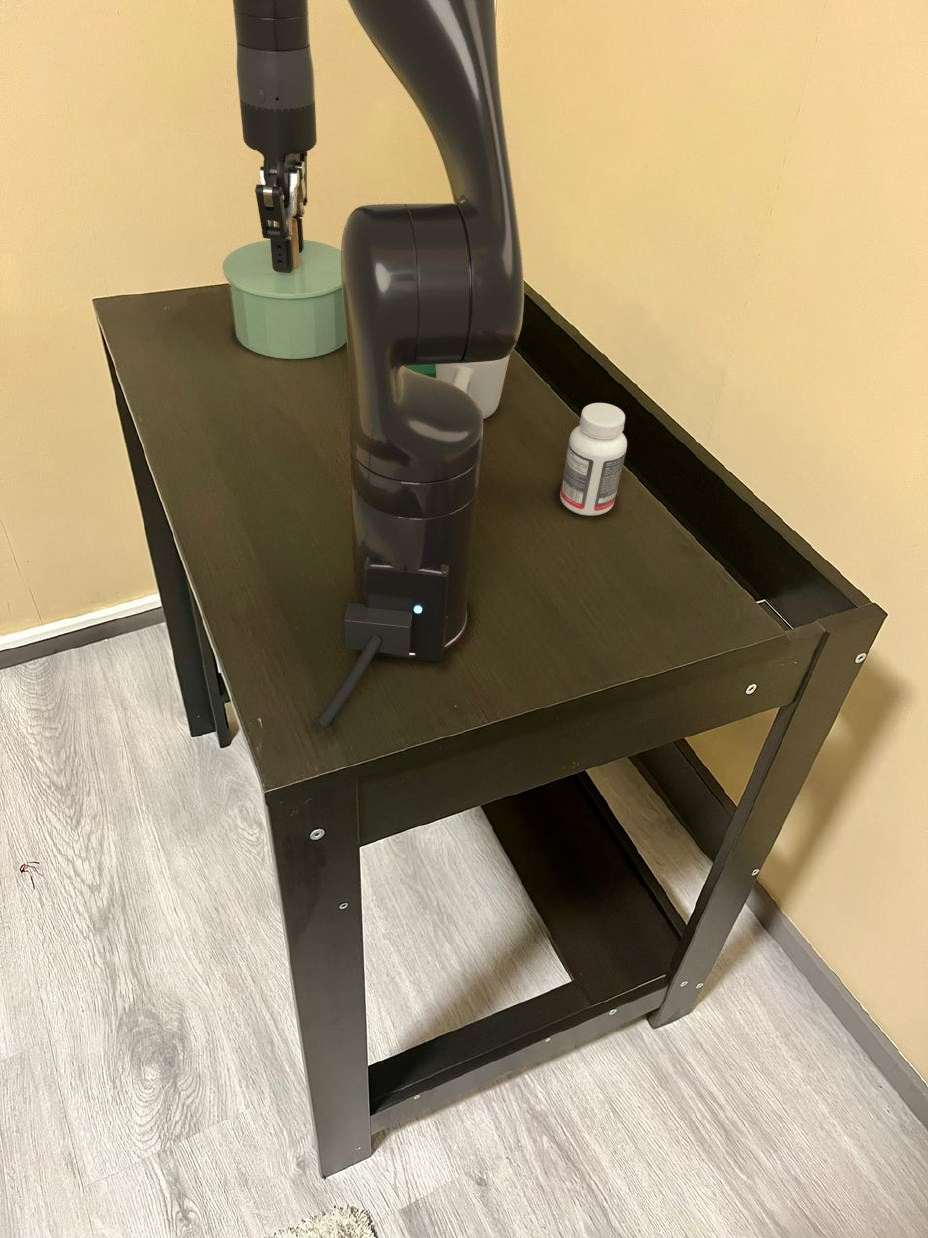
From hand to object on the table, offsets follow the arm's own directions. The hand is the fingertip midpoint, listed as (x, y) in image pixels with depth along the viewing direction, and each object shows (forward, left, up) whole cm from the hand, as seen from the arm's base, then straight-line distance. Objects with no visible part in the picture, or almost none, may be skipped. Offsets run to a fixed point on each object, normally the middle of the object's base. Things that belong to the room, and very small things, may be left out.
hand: (288, 259), depth 103 cm
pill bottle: (-28, -35, -9) cm, 46 cm away
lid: (0, 0, -1) cm, 1 cm away
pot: (0, 0, -9) cm, 9 cm away
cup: (-15, -22, -9) cm, 28 cm away
